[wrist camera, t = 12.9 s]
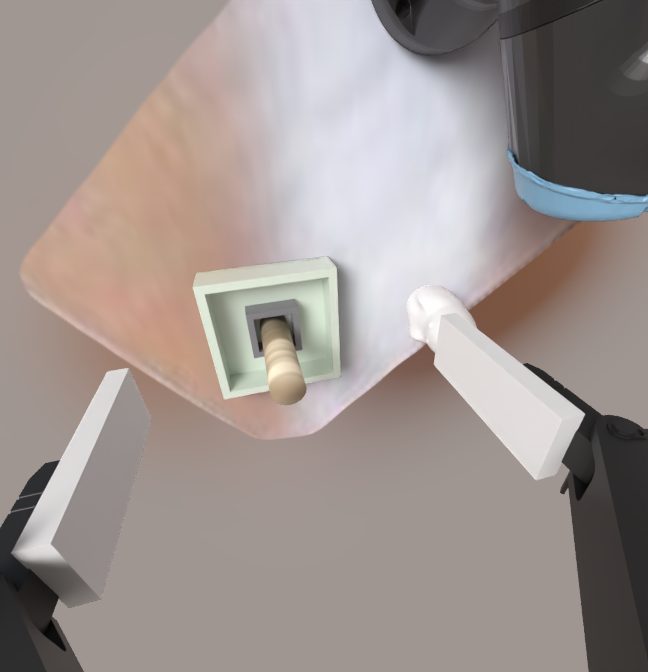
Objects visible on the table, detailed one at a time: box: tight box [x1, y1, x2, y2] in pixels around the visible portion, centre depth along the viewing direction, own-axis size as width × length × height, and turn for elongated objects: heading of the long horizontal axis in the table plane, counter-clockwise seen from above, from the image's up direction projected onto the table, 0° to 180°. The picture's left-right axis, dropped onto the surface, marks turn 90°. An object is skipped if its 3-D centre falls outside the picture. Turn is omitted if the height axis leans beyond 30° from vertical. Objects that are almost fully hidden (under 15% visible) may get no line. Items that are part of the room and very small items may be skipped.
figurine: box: [407, 285, 477, 353], centre depth 44 cm, size 7×8×12 cm
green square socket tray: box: [193, 256, 341, 399], centre depth 43 cm, size 16×16×4 cm
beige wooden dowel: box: [260, 315, 306, 405], centre depth 39 cm, size 4×4×14 cm
